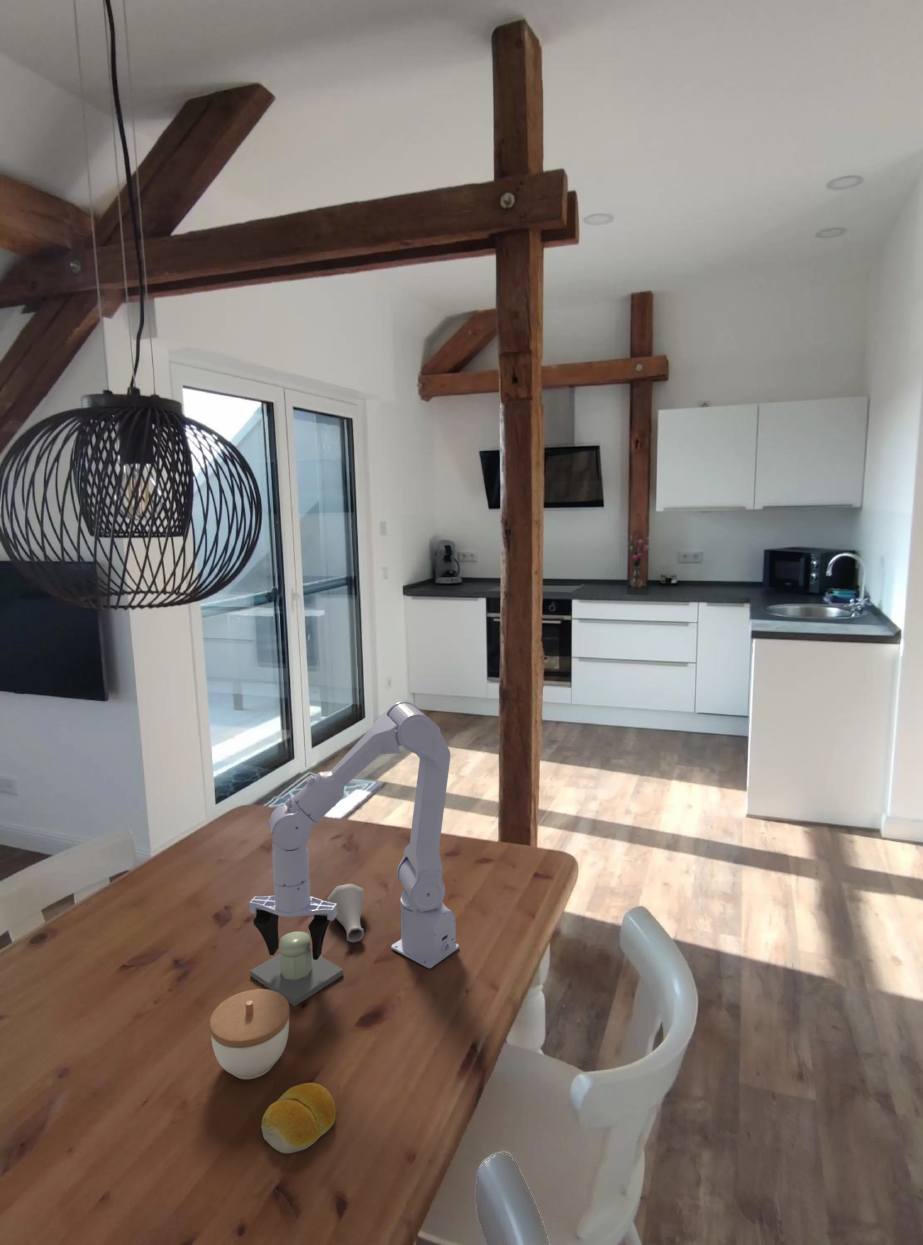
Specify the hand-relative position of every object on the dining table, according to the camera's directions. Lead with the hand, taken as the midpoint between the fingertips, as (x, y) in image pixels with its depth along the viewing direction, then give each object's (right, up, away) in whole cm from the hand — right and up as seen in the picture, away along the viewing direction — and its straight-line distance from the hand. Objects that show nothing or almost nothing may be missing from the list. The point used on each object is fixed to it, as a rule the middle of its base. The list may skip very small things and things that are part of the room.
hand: (295, 954), depth 121 cm
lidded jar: (-2, -7, -18) cm, 20 cm away
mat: (0, -4, +1) cm, 4 cm away
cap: (0, -3, 0) cm, 3 cm away
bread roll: (+7, -9, -29) cm, 31 cm away
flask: (+5, +2, +18) cm, 19 cm away
